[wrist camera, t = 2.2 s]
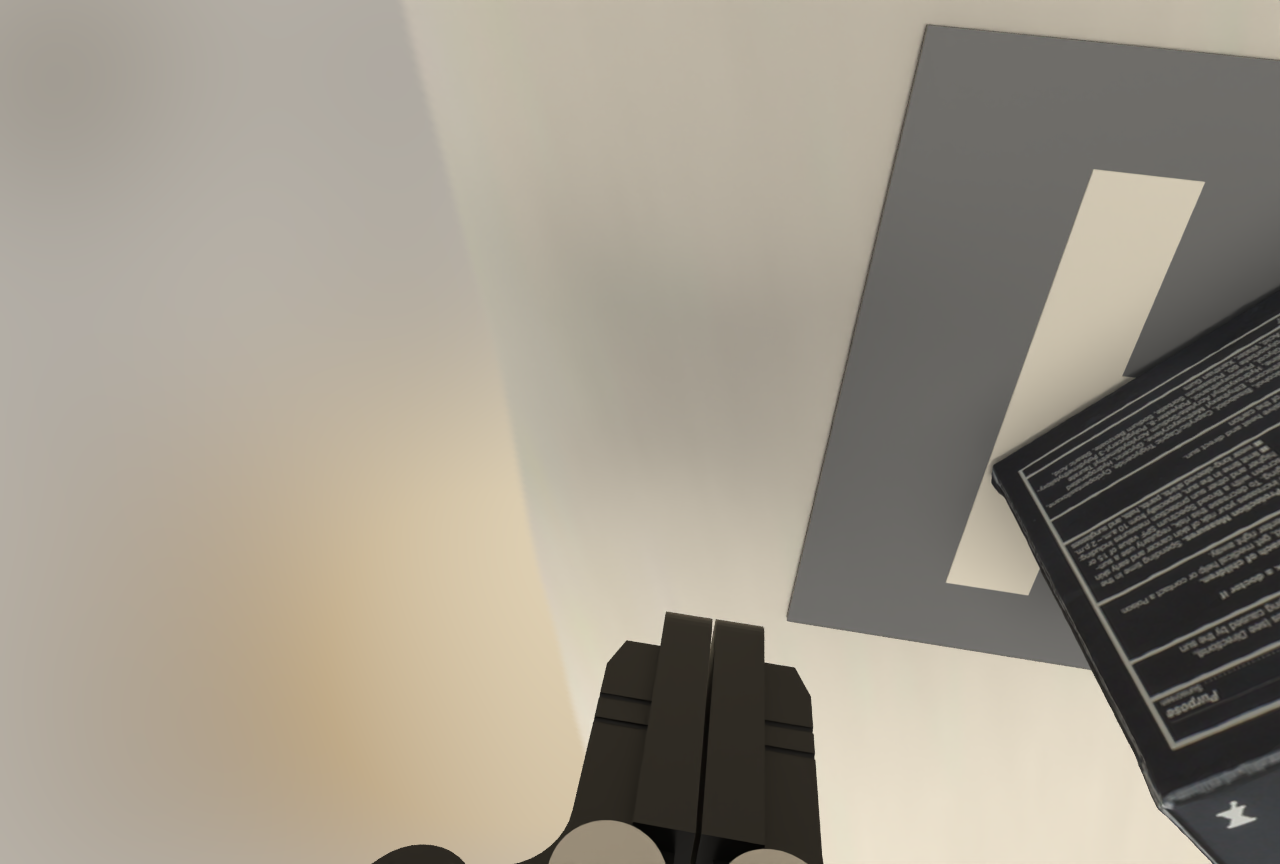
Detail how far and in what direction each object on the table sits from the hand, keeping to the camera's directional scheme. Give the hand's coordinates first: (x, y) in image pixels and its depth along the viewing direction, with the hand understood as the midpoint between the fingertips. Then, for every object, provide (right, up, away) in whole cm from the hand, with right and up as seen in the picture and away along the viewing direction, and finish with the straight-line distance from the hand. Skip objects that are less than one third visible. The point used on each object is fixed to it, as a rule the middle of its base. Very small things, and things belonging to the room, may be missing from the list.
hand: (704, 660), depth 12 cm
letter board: (+14, +3, +8) cm, 17 cm away
